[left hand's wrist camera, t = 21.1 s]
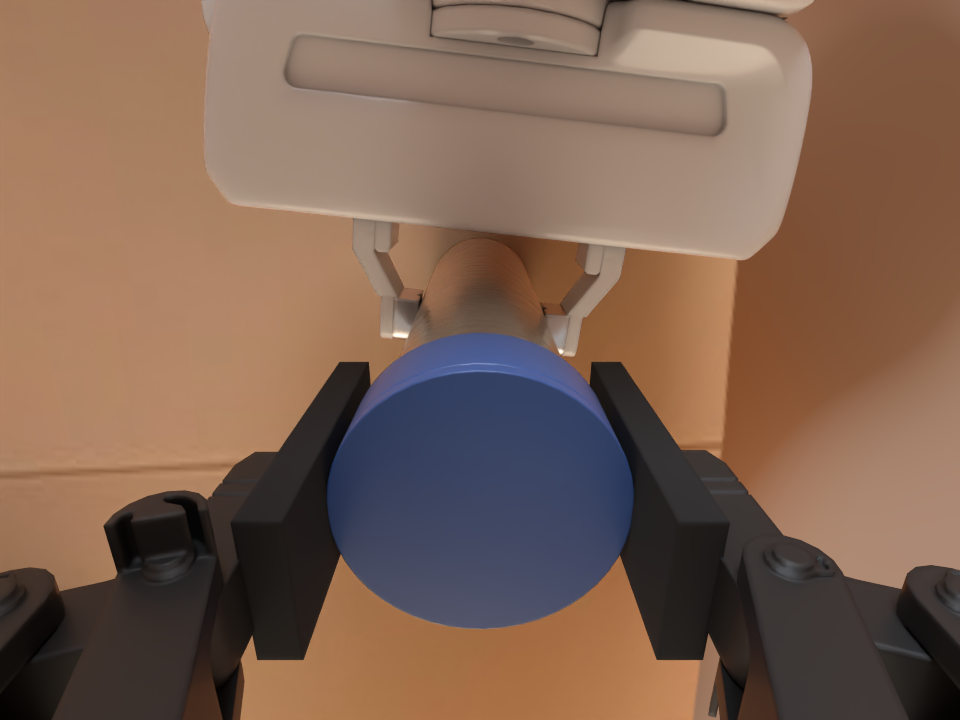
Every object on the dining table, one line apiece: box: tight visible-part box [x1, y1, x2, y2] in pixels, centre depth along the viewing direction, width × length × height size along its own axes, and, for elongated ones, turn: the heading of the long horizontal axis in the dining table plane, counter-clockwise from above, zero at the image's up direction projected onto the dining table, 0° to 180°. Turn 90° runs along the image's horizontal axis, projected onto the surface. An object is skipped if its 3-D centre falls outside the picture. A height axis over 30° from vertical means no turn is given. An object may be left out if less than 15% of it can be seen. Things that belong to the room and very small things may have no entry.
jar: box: [399, 238, 561, 358], centre depth 19 cm, size 5×5×18 cm
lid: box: [327, 333, 634, 629], centre depth 11 cm, size 6×6×2 cm
